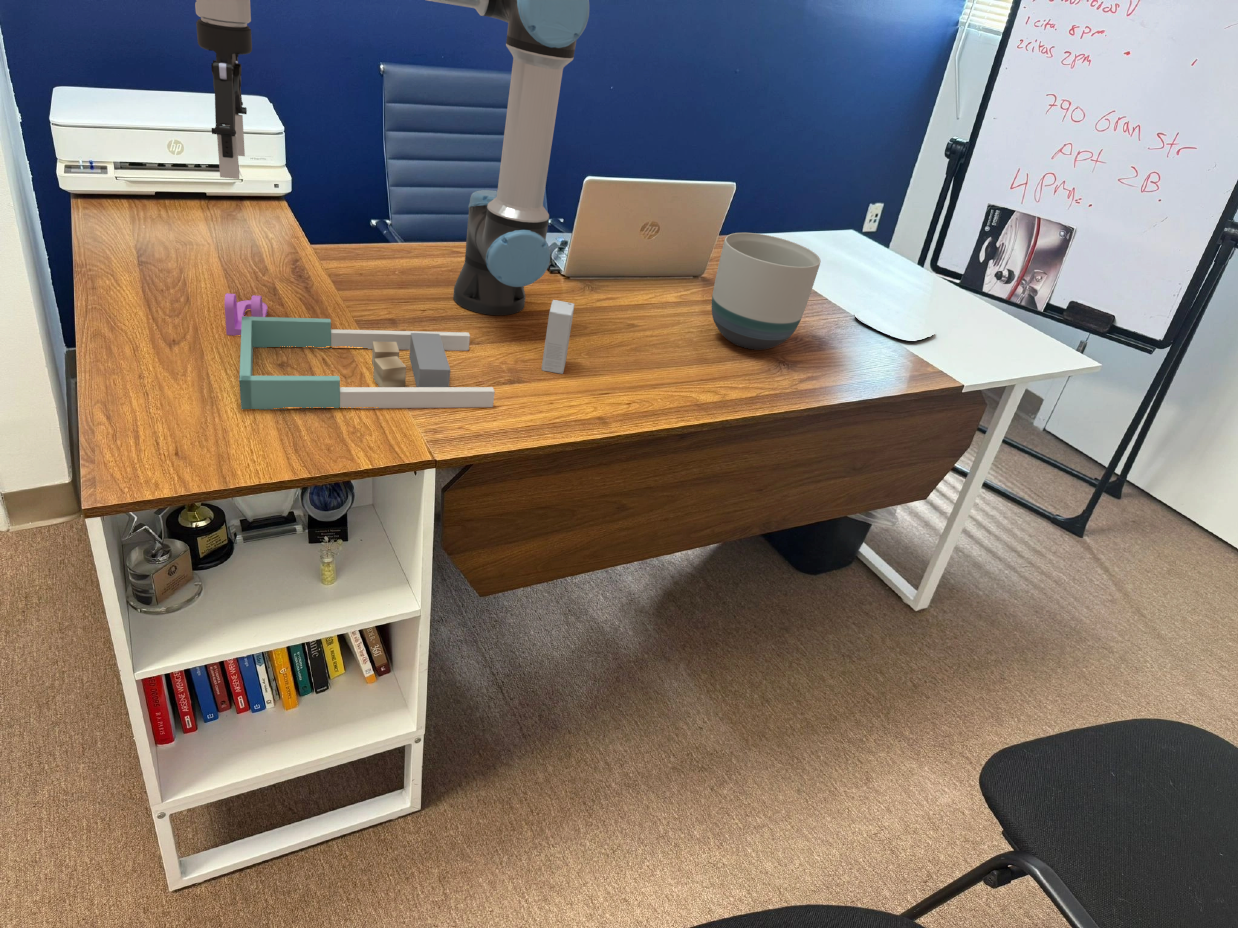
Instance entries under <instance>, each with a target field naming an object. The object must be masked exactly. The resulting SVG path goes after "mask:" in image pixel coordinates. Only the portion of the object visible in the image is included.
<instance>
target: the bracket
mask: <svg viewBox="0 0 1238 928" xmlns="http://www.w3.org/2000/svg"><path fill="white" fill-rule="evenodd" d="M236 294H237V293H225V295H224V316H225V319H224V320H225V329H226V331H225V332H226V336H236V335H241V327H242V316H244V315H245V317H248V316H247V315H246V313H245V311H246V310H247V309H251V310H250V313H251V316H249V317H266V315H267V316H268V313H267V312H268V305H267V304H266V303H265V302H263V297H262V295H256V294H255V295H251V299H249V300H247V299H246V300H241V301H237V300H238V299H237V295H236ZM246 312H247V311H246Z"/></svg>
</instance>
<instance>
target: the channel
mask: <svg viewBox="0 0 1238 928" xmlns="http://www.w3.org/2000/svg"><path fill="white" fill-rule="evenodd" d="M411 333H429V334H439V335H440V338H441V341H442V344H443V347H444V351H469V350H470V340H471V334H470V333H469V332H465V331H463V332H461V331H460V332H459V331H458V332H457V331H456V332H455V331H420V330H419V331H413V330H412V331H411V330H380V329H379V330H371V329H338V328H337V329H335V328H334V329H332V328H331V346H332V347H333V346H334V347H335V346H336V347H337V346H347V347H348V346H350V347H352V346H353V347H363V348H368V349H367V350H372V349H373V342H397V346H398V349H399V351H400V350H404V351H405V350H406V351H407V350H409V351H410V339H411ZM495 392H496V391H495V389H494V387H493V386H486V387H485V386H480V387H479V386H469V387H467V386H465V387H464V386H459V387H458V386H457V387H456V386H452V387H451V386H449V387H416V386H414V387H413V386H409V387H408V386H405V387H379V386H377V387H376V386H375V387H373V386H372V387H370V386H369V387H367V386H366V387H365V386H364V387H362V386H357V387H356V386H355V387H354V386H350V387H346V386H343V387H341V386H340V408H341V407H342V408H343V407H344V408H345V407H346V408H348V407H351V408H354V407H355V408H356V407H362V408H361V409H364V408H363V407H375V408H374V409H377V408H376V407H379V408H378V409H433V408H435V409H436V408H437V409H438V408H439V409H440V408H441V409H442V408H446V409H447V408H448V409H450V408H456V409H457V408H460V409H461V408H494V401H495V394H496V393H495Z"/></svg>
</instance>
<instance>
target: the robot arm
mask: <svg viewBox="0 0 1238 928" xmlns="http://www.w3.org/2000/svg"><path fill="white" fill-rule="evenodd" d="M426 1H427V2H433V3H440V4H446V5H447V4H448V5H453V6H459V7H465V8H472V9H475V10H476V12H477V13H478V14H479V16H480V17H481V16H482V17H487V18H493V19H497V20H500V21H503V22H505V23H508V24H507V30H506V31H507V32H506V41H505V46H506V48H507V49H508V51H509V52H510V54H511V55H512V58H513V59H512V66H511V67H512V68H511V75H510V84H509V93H508V100H507V108H506V109H507V110H506V117H505V125H504V126H505V127H504V133H503V143H502V149H501V150H502V151H501V159H500V167H499V176H498V181H497V182H498V185H497V190H488V189H487V190H486V189H485V190H482V189H481V190H476V191H474V192H473V193H471V195H470V199H469V204H468V217H467V227H466V228H467V230H466V243H465V256H464V264H463V266H462V267H461V271H460V273H459V274H458V277H457V279H456V281H455V284H454V287H453V300H454V302H455V303H456V304H457V305H459V306H460V307H462V308H464V309H465V310H467V311H468V310H469V311H471V312H474V313H478V314H483V315H489V316H507V315H514V314H518V313H519V312H521V311H523V310H524V308H525V306H526V291H525V287H526V286H530V285H532V284H534V283H535V282H537V281H538V280H539V279H541V278H542V277H543V276H544V275H545V273H546V272H547V270H548V268H549V266H550V262H551V250H550V245H549V244H548V241H547V240H546V239H547V233H548V228H549V227H548V226H549V221H550V220H549V219H550V214H549V212H548V210H547V209H546V208H545V206H544V198H545V193H546V185H547V179H548V178H547V177H548V172H549V166H550V158H551V151H552V144H553V138H554V131H555V125H556V117H557V113H558V111H557V110H558V104H559V98H560V91H561V85H562V84H561V83H562V79H563V71H564V68H565V67H566V66H568V64H569V63H571V62H572V61H573V60H574V58H575V51H576V45H577V40H578V39H579V38H580V36H582V34H583V32H584V31H585V29H586V27H587V24H588V21H589V17H590V0H426ZM194 5H195V14H196V15H197V16H198V17H200V18H199V19H197V21H196V22H195V26H196V36H197V37H196V38H197V44H198V46H199V47H200V48H201V49H204V50H206V51H209V52H210V51H213V53H215V60H212V63H211V68H210V69H211V73H212V80H213V81H212V83H213V85H212V86H213V89H214V90H213V91H214V111H215V112H214V113H215V114H214V116H215V126H214V127H211V135H216V138H217V139H216V140H217V152H218V167H219V177H220V178H222V179H236V180H240V166H239V164H240V163H239V157H246V156H245V155H246V152H245V134H244V133H245V132H244V121H243V120H244V119H243V115H247V111H248V110H247V107H245V106H244V102H243V99H242V90H241V88H242V64H241V63H239V56H240V55H249V54H251V52H253V41H252V29H251V28H250V26H249V25H248V24H249V23H251V22H252V15H251V13H252V11H251V0H195V3H194Z"/></svg>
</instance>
